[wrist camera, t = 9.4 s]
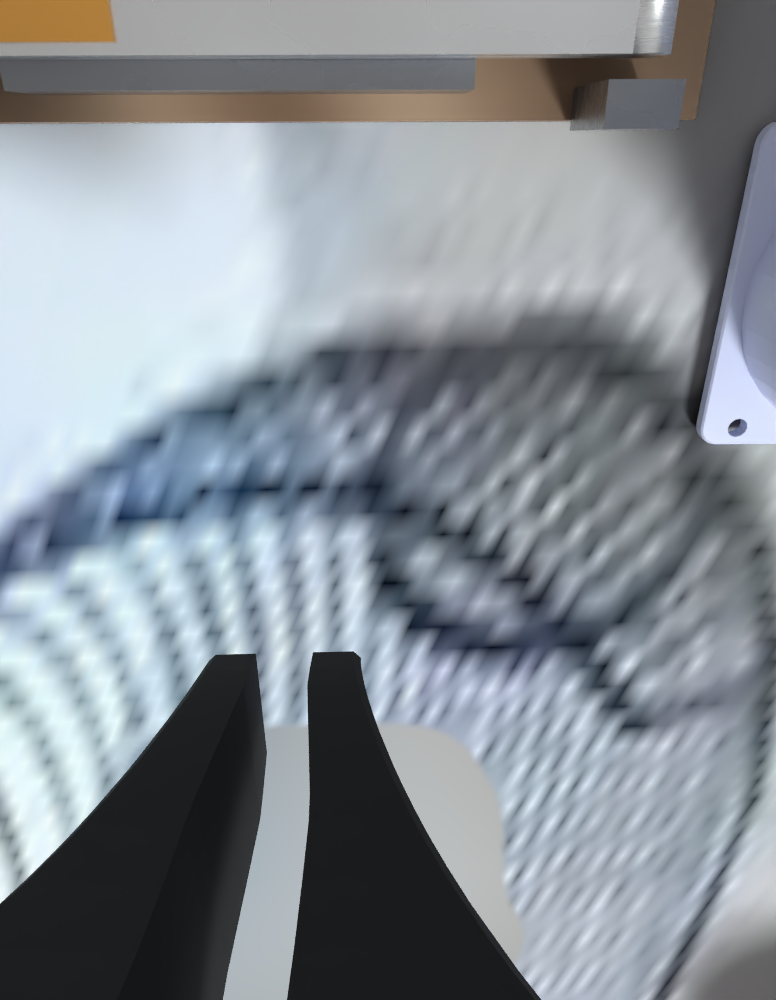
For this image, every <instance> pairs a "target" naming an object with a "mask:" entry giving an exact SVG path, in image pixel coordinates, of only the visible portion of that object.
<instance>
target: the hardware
mask: <svg viewBox="0 0 776 1000" xmlns="http://www.w3.org/2000/svg"><path fill="white" fill-rule="evenodd" d="M475 67H476V58H469V59H191V60H0V74H1V78H2V83H3V87H4V91H9V92H17V93H25V94H33V95H207V94H466V93H468V92H470V91H472V90H474V89H475ZM685 86H686V79H608V80H604V81H600V82H596V83H592V84H588V85H583V86H579V87H575V88H574V96H573V106H572V116H571V126H570V130H659V129H679V122H680V116H681V110H682V104H683V98H684V92H685Z"/></svg>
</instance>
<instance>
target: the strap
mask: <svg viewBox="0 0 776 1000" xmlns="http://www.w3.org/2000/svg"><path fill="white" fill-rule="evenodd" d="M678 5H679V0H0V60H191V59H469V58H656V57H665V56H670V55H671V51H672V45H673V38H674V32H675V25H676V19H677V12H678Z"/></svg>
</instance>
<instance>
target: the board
mask: <svg viewBox="0 0 776 1000" xmlns="http://www.w3.org/2000/svg"><path fill="white" fill-rule="evenodd" d="M715 4H716V0H679V5H678V12H677V19H676V25H675V32H674V38H673V45H672V51H671V55H670V56H665V57H656V58H476V67H475V89H474V90H472V91H470V92H468V93H466V94H207V95H33V94H25V93H17V92H9V91H4V87H3V83H2V78H1V74H0V124H25V123H268V122H512V121H571V116H572V106H573V96H574V88H575V87H579V86H583V85H588V84H592V83H596V82H600V81H604V80H608V79H686V86H685V92H684V98H683V104H682V110H681V116H680V120H695V119H696V115H697V109H698V103H699V97H700V91H701V85H702V80H703V74H704V68H705V62H706V56H707V50H708V45H709V39H710V33H711V27H712V21H713V15H714V10H715Z"/></svg>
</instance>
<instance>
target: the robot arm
mask: <svg viewBox="0 0 776 1000" xmlns="http://www.w3.org/2000/svg"><path fill="white" fill-rule="evenodd" d="M737 419H740V422H741V423H740V425H739V427H738V428H737V429H735V430H734V431H730V432H728V427H729V425H730V423H731V422H733V421H734V420H737ZM696 430H697V432H698V434H699V436H700V437H701V438H702V439H704V440H705V441H706V442H708V443H711V444H776V121H775V122H772V123H770V124H769V125H767V126H766V127H764V128H763V130H762V131H761V132H760V133H759V135H758V137H757V139H756V142H755V144H754V149H753V154H752V159H751V164H750V168H749V173H748V178H747V183H746V188H745V192H744V197H743V202H742V207H741V212H740V217H739V221H738V226H737V231H736V236H735V241H734V245H733V250H732V255H731V260H730V265H729V269H728V274H727V279H726V284H725V289H724V293H723V298H722V303H721V308H720V313H719V318H718V322H717V327H716V332H715V337H714V342H713V346H712V351H711V356H710V361H709V366H708V370H707V375H706V380H705V385H704V390H703V394H702V399H701V404H700V409H699V414H698V419H697V423H696ZM308 729H309V773H310V806H309V825H308V834H307V843H306V852H305V862H304V871H303V880H302V888H301V896H300V904H299V913H298V921H297V930H296V937H295V946H294V954H293V961H292V968H291V975H290V983H289V990H288V997H287V1000H541V999H540V998H539V996H538V995H537V994H536V993H535V991H534V990H533V989H532V987H531V986H530V985H529V984H528V982H527V981H526V980H525V979H524V977H523V976H522V975H521V973H520V972H519V971H518V970H517V968H516V967H515V965H514V964H513V963H512V961H511V960H510V959H509V957H508V956H507V954H506V953H505V952H504V950H503V949H502V947H501V946H500V944H499V943H498V942H497V940H496V939H495V937H494V936H493V935H492V933H491V932H490V931H489V929H488V928H487V926H486V925H485V923H484V922H483V921H482V919H481V918H480V916H479V915H478V914H477V912H476V911H475V909H474V908H473V907H472V905H471V904H470V902H469V901H468V899H467V897H466V896H465V894H464V893H463V891H462V890H461V888H460V886H459V885H458V883H457V882H456V880H455V879H454V877H453V875H452V874H451V873H450V871H449V869H448V868H447V866H446V864H445V863H444V861H443V859H442V857H441V856H440V854H439V852H438V851H437V849H436V848H435V846H434V844H433V843H432V841H431V839H430V837H429V835H428V834H427V832H426V830H425V828H424V826H423V824H422V823H421V821H420V819H419V817H418V815H417V813H416V811H415V809H414V807H413V805H412V803H411V801H410V799H409V797H408V795H407V793H406V791H405V789H404V788H403V785H402V783H401V781H400V779H399V777H398V775H397V772H396V770H395V768H394V766H393V764H392V761H391V759H390V756H389V754H388V752H387V749H386V747H385V744H384V742H383V739H382V737H381V734H380V732H379V729H378V727H377V724H376V721H375V718H374V716H373V713H372V709H371V706H370V703H369V700H368V697H367V693H366V689H365V685H364V681H363V676H362V670H361V658H360V657H359V656H358V655H357V654H356V653H354V652H314V653H313V656H312V661H311V666H310V672H309V678H308ZM266 755H267V751H266V741H265V733H264V724H263V715H262V706H261V697H260V688H259V679H258V670H257V661H256V654H233V655H215V656H214V657H213V658H212V659H211V660H210V661H209V662H208V663H207V665H206V666H205V668H204V669H203V671H202V672H201V674H200V675H199V677H198V678H197V680H196V681H195V682H194V684H193V685H192V687H191V688H190V690H189V691H188V693H187V694H186V695H185V697H184V698H183V700H182V701H181V702H180V704H179V705H178V706H177V708H176V709H175V711H174V712H173V713H172V715H171V716H170V717H169V719H168V720H167V721H166V723H165V724H164V725H163V727H162V728H161V729H160V730H159V732H158V733H157V734H156V736H155V737H154V738H153V739H152V741H151V742H150V743H149V745H148V746H147V747H146V748H145V750H144V751H143V752H142V754H141V755H140V756H139V757H138V759H137V760H136V761H135V762H134V764H133V765H132V766H131V767H130V768H129V770H128V771H127V772H126V773H125V774H124V775H123V777H122V778H121V779H120V780H119V781H118V782H117V784H116V785H115V786H114V787H113V788H112V789H111V790H110V792H109V793H108V794H107V795H106V796H105V797H104V799H103V800H102V801H101V802H100V803H99V804H98V805H97V807H96V808H95V809H94V810H93V811H92V812H91V813H90V815H89V816H88V817H87V818H86V819H85V820H84V821H83V822H82V823H81V824H80V825H79V826H78V828H77V829H76V830H75V831H74V832H73V833H72V834H71V835H70V836H69V837H68V838H67V839H66V840H65V841H64V842H63V843H62V844H61V845H60V846H59V848H58V849H57V850H56V851H55V852H54V853H53V854H52V855H51V856H50V857H49V858H48V859H47V860H46V861H45V862H44V863H43V864H42V865H41V866H40V867H39V868H38V869H37V870H36V871H35V872H34V873H33V874H31V875H30V876H29V877H28V878H27V879H26V880H25V881H24V882H23V883H22V884H21V885H20V886H19V887H18V888H17V889H16V890H14V891H13V892H12V893H11V894H10V895H9V896H8V897H7V898H6V899H5V900H4V901H3V902H1V903H0V1000H223V995H224V989H225V983H226V977H227V972H228V967H229V963H230V958H231V953H232V949H233V944H234V939H235V935H236V930H237V925H238V921H239V916H240V911H241V906H242V902H243V897H244V893H245V888H246V883H247V879H248V874H249V869H250V865H251V860H252V855H253V850H254V845H255V840H256V835H257V831H258V826H259V821H260V814H261V806H262V796H263V786H264V776H265V766H266Z"/></svg>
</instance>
